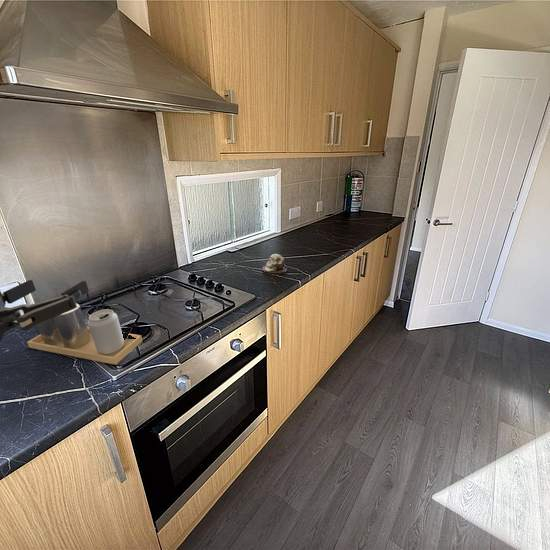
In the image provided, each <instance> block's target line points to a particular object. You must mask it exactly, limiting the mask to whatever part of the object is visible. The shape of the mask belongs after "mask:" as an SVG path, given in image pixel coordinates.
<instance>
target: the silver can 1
mask: <svg viewBox="0 0 550 550" xmlns="http://www.w3.org/2000/svg"><path fill="white" fill-rule="evenodd" d="M36 327H37V329H38V332H39V335H40V334H41V337H42V339H43V341H44V344H47V345H57V344H60V343H62V340H61V337H60V335H59V332H58V330H57V327H56V324H55V322H54V319H53V318H51V319H48V320H46V321H43V322H41V323H39V324H36Z"/></svg>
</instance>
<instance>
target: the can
mask: <svg viewBox="0 0 550 550" xmlns="http://www.w3.org/2000/svg"><path fill="white" fill-rule="evenodd" d="M87 327H89V329H90V332H91V335H92V338H93V341H94V344H95V347H96V350H97V352H98V353H99V354H103V355H110V354H114V353H116V352H118V351H119V350H120V349H121V348H122V347H123V346H124V344H125V341H124V338H123V334H122V332H123V331H122V327H121V324H120V321H119V317H118V314H117V313H116V312H114V310H113V309H109V308H106V309H100V310H99V309H98V310H95V312H93V313H91V314H90V315H89V316H88V321H87Z"/></svg>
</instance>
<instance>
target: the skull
mask: <svg viewBox="0 0 550 550" xmlns="http://www.w3.org/2000/svg"><path fill="white" fill-rule="evenodd" d="M268 259H269V260H267V261H266V264H265V265H264V266H263V267H262V268H261V269H262V272H263V271H264V272H265V273H269V274H275V275H276V274H282V273H285V272H287V271H288V268H287V267H286V266H285V258H284V257H283V256H282V255H280V254H278V253H274V254H271V255H270V256H269V258H268Z"/></svg>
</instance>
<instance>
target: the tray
mask: <svg viewBox="0 0 550 550" xmlns="http://www.w3.org/2000/svg"><path fill="white" fill-rule="evenodd" d="M86 327H87V329H88V332H89V335H90V341H89V342H88V343H87V344H86V345H84V346H82V347H80V348H77V349H68V348H64V345H63V343H60V344H57V345H47V344H44V341H43V339H42V337H41V334H40V333H39V335H36V336H35V337H33V338H31V339H30V340H28V341H27V342H26V343H27V345H28V347H29V348H31V349H35V350H39V351H45V352H49V353H53V354H54V353H55V354H59V355H65V356H70V357H75V358H80V359H85V360H89V361H90V360H91V361H94V362H101V363H104V364H110V365H115V366H117V365H119V364H120V362H121V361H123V360H124V359H126V358H127V357H128V355H129V354H131V353H132V352H134V350H135V349H136V348H137V347H139V346H140V345H141V344H143V337H142V334H141V335H140V334H134V333H129V334H128V335H131V336H132V337H134V338H136V339H125V340H124V341H125V344H124V346H123V347H122V348H121V349H120V350H119V351H118V352H116V353H114V354H110V355H103V354H99V353H98V352H97V350H96V347H95V344H94V341H93V338H92V335H91V332H90V329H89V326H86Z"/></svg>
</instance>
